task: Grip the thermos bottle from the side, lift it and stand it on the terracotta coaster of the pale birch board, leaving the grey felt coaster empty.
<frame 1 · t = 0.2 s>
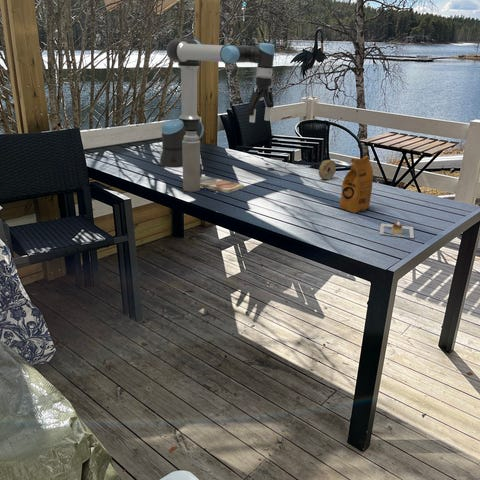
hand: (259, 121, 248), 27 cm above the table, tool pointing down, fingers open, 13 cm apart
thermos bottle: (191, 189, 230), on the table
board: (216, 185, 237), on the table
coffee package: (354, 208, 210), on the table
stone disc: (326, 179, 254), on the table
dessert: (396, 233, 185), on the table
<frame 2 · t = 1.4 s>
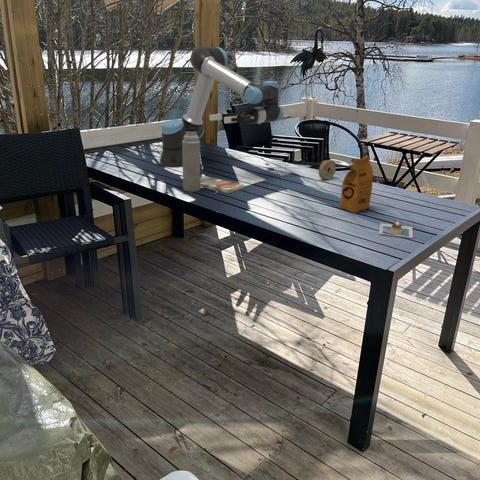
hand: (216, 119, 230), 31 cm above the table, tool horizontal, fingers open, 13 cm apart
nothing on the table moved.
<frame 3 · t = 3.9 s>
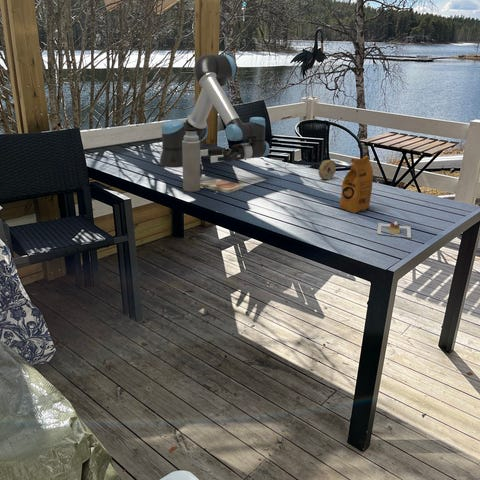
hand: (203, 156, 227), 15 cm above the table, tool horizontal, fingers open, 13 cm apart
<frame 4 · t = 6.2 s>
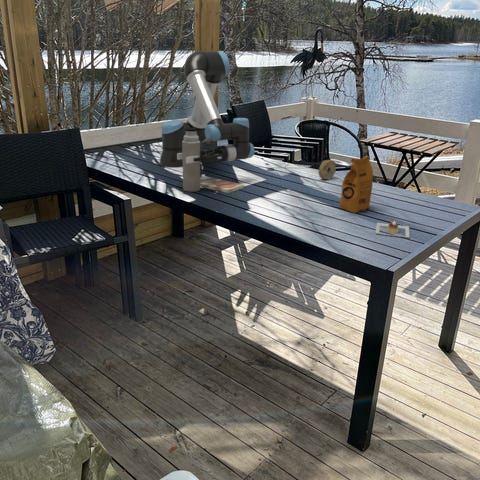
hand: (182, 158, 222), 15 cm above the table, tool horizontal, fingers closed on thermos bottle, 8 cm apart
thermos bottle: (191, 189, 230), on the table, touching gripper
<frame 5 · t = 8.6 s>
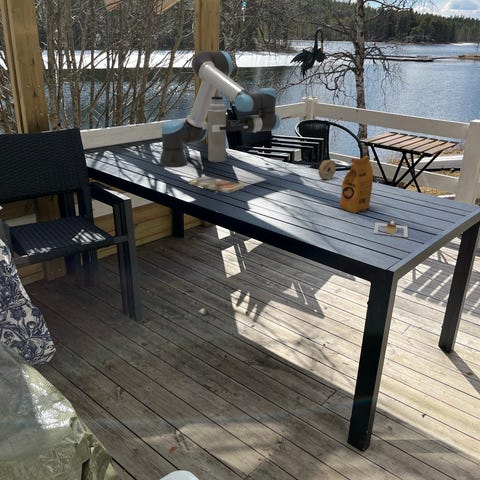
hand: (207, 127, 219), 29 cm above the table, tool horizontal, fingers closed on thermos bottle, 8 cm apart
thermos bottle: (217, 160, 227), point 14 cm above the table, touching gripper
when the fingers open (18 cm above the table, at t = 11.2 s): thermos bottle drops 1 cm, resting on board.
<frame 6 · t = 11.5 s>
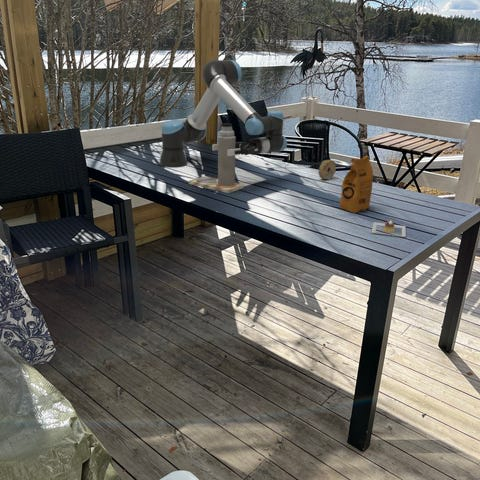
hand: (220, 150, 225), 18 cm above the table, tool horizontal, fingers open, 12 cm apart
thermos bottle: (226, 184, 233), point 2 cm above the table, touching board
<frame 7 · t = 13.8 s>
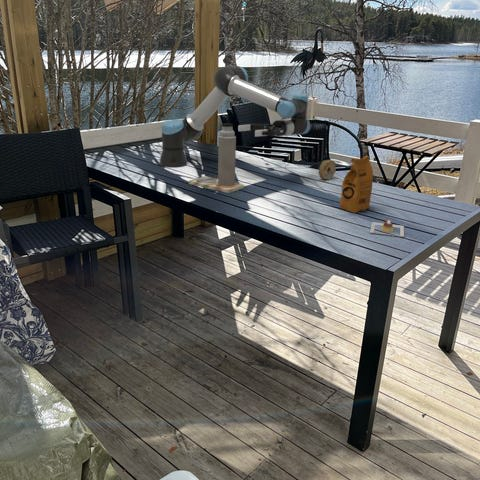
hand: (246, 130, 229), 26 cm above the table, tool horizontal, fingers open, 13 cm apart
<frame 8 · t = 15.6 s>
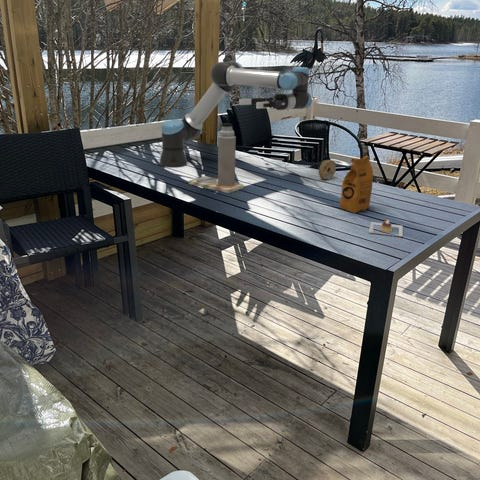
hand: (247, 103, 227), 38 cm above the table, tool horizontal, fingers open, 13 cm apart
at the end: thermos bottle inside the target area (0.1 cm from its centre), point 1.7 cm above the table; thermos bottle tilted 0°; the gripper is holding nothing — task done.
